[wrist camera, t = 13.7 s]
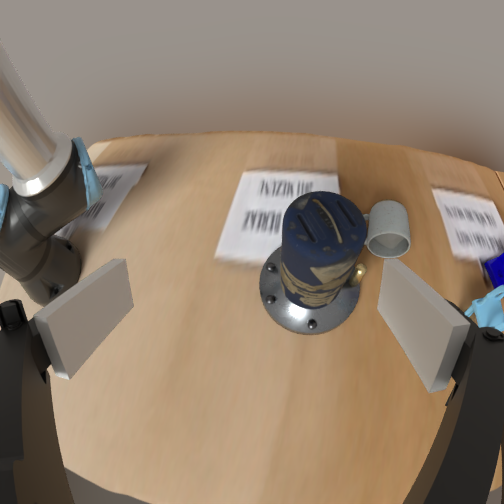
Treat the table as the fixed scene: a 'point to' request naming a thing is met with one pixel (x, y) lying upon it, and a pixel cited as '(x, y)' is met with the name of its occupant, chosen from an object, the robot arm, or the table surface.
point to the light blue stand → (489, 309)
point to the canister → (319, 247)
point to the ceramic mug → (388, 229)
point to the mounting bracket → (496, 270)
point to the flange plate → (300, 317)
